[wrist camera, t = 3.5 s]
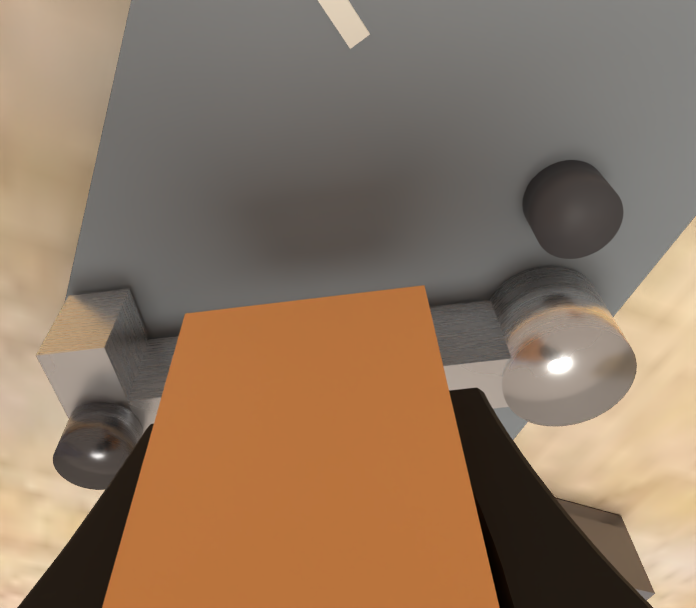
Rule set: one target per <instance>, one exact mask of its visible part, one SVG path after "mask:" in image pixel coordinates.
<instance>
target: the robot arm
mask: <svg viewBox="0 0 696 608" xmlns="http://www.w3.org/2000/svg"><path fill="white" fill-rule="evenodd" d="M449 393H450V397H451V401H452V406H453V410H454V414H455V419H456V423H457V427H458V431H459V436H460V440H461V444H462V449H463V453H464V457H465V462H466V466H467V470H468V474H469V479H470V483H471V487H472V492H473V496H474V500H475V505H476V509H477V513H478V517H479V522H480V526H481V530H482V535H483V539H484V543H485V547H486V552H487V556H488V560H489V565H490V569H491V573H492V578H493V582H494V586H495V590H496V595H497V599H498V603H499V608H653V607H652V606H651V605H650V604H649V603H648V602H647V601H646V600H645V599H644V598H643V597H642V596H641V595H640V594H639V592H638V591H637V590H636V589H635V588H634V587H633V586H632V585H631V584H630V583H629V582H628V581H627V580H626V579H625V578H624V577H623V576H622V575H621V574H620V573H619V572H618V570H617V569H616V568H615V567H614V566H613V565H612V564H611V563H610V562H609V561H608V560H607V558H606V557H605V556H604V555H603V554H602V553H601V552H600V551H599V550H598V548H597V547H596V546H595V545H594V544H593V543H592V541H591V540H590V539H589V538H588V537H587V536H586V534H585V533H584V532H583V531H582V530H581V529H580V527H579V526H578V525H577V524H576V523H575V522H574V520H573V519H572V518H571V517H570V516H569V514H568V513H567V512H566V511H565V509H564V508H563V507H562V506H561V504H560V503H559V502H558V501H557V499H556V498H555V497H554V496H553V494H552V493H551V492H550V490H549V489H548V488H547V486H546V485H545V484H544V482H543V481H542V480H541V479H540V477H539V476H538V475H537V473H536V472H535V471H534V469H533V468H532V467H531V465H530V464H529V463H528V461H527V460H526V458H525V457H524V456H523V454H522V453H521V451H520V450H519V448H518V447H517V445H516V444H515V442H514V441H513V440H512V438H511V437H510V435H509V434H508V432H507V431H506V429H505V427H504V426H503V424H502V423H501V421H500V420H499V418H498V416H497V415H496V413H495V411H494V410H493V408H492V406H491V404H490V403H489V401H488V399H487V397H486V395H485V393H484V392H483V391H482V390H480V389H479V388H477V387H476V388H467V389H458V390H449ZM153 425H154V424H150V425H149V427H148V428H147V429H146V430H145V432H144V433H143V435H142V436H141V438H140V439H139V441H138V442H137V444H136V445H135V447H134V448H133V450H132V451H131V453H130V454H129V456H128V457H127V459H126V460H125V462H124V463H123V465H122V466H121V468H120V469H119V471H118V472H117V473H116V475H115V476H114V478H113V479H112V481H111V482H110V484H109V485H108V487H107V488H106V490H105V491H104V493H103V494H102V496H101V497H100V498H99V500H98V501H97V503H96V504H95V506H94V507H93V508H92V510H91V511H90V513H89V514H88V515H87V517H86V518H85V520H84V521H83V522H82V524H81V525H80V527H79V528H78V529H77V531H76V532H75V534H74V535H73V536H72V538H71V539H70V541H69V542H68V543H67V545H66V546H65V547H64V549H63V550H62V551H61V553H60V554H59V555H58V557H57V558H56V559H55V560H54V562H53V563H52V564H51V566H50V567H49V568H48V569H47V571H46V572H45V573H44V574H43V576H42V577H41V578H40V580H39V581H38V582H37V583H36V585H35V586H34V587H33V589H32V590H31V591H30V592H29V594H28V595H27V596H26V598H25V599H24V600H23V601H22V603H21V604H20V605H19V606H18V607H17V608H102V606H103V603H104V599H105V596H106V592H107V589H108V585H109V581H110V578H111V574H112V571H113V567H114V564H115V560H116V557H117V553H118V550H119V546H120V542H121V539H122V535H123V532H124V528H125V525H126V521H127V518H128V514H129V511H130V507H131V503H132V500H133V496H134V493H135V489H136V486H137V482H138V479H139V475H140V471H141V468H142V464H143V461H144V457H145V454H146V450H147V447H148V443H149V440H150V436H151V432H152V429H153Z"/></svg>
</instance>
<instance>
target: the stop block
mask: <svg viewBox="0 0 696 608" xmlns="http://www.w3.org/2000/svg"><path fill="white" fill-rule="evenodd" d="M102 608H499V603H498V599H497V595H496V590H495V586H494V582H493V578H492V573H491V569H490V565H489V560H488V556H487V552H486V547H485V543H484V539H483V535H482V530H481V526H480V522H479V517H478V513H477V509H476V505H475V500H474V496H473V492H472V487H471V483H470V479H469V474H468V470H467V466H466V462H465V457H464V453H463V449H462V444H461V440H460V436H459V431H458V427H457V423H456V419H455V414H454V410H453V406H452V401H451V397H450V393H449V388H448V384H447V380H446V376H445V371H444V367H443V363H442V358H441V354H440V350H439V346H438V341H437V337H436V333H435V328H434V324H433V320H432V315H431V311H430V307H429V303H428V298H427V294H426V290H425V285H422V286H414V287H405V288H397V289H388V290H380V291H371V292H363V293H355V294H346V295H338V296H329V297H321V298H312V299H304V300H296V301H287V302H279V303H270V304H262V305H253V306H245V307H236V308H228V309H220V310H211V311H203V312H194V313H186V314H185V315H184V319H183V323H182V326H181V330H180V333H179V337H178V340H177V344H176V347H175V351H174V354H173V358H172V362H171V365H170V369H169V372H168V376H167V379H166V383H165V386H164V390H163V393H162V397H161V401H160V404H159V408H158V411H157V415H156V418H155V422H154V425H153V429H152V432H151V436H150V440H149V443H148V447H147V450H146V454H145V457H144V461H143V464H142V468H141V471H140V475H139V479H138V482H137V486H136V489H135V493H134V496H133V500H132V503H131V507H130V511H129V514H128V518H127V521H126V525H125V528H124V532H123V535H122V539H121V542H120V546H119V550H118V553H117V557H116V560H115V564H114V567H113V571H112V574H111V578H110V581H109V585H108V589H107V592H106V596H105V599H104V603H103V606H102Z"/></svg>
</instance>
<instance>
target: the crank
mask: <svg viewBox="0 0 696 608" xmlns="http://www.w3.org/2000/svg"><path fill="white" fill-rule="evenodd" d="M430 311H431V315H432V320H433V324H434V328H435V333H436V337H437V341H438V346H439V350H440V354H441V358H442V363H443V367H444V371H445V376H446V380H447V384H448V388H449V390H458V389H467V388H476V387H477V388H479V389H480V390H482V391H483V392H484V393H485V395H486V397H487V399H488V401H489V403H490V404H491V406H492V408H503V407H509V408H510V409H511V410H512V411H513V412H514V413H515V414H516V415H517V416H519V417H520V418H522V419H524V420H526V421H528V422H531V423H534V424H538V425H543V426H567V425H573V424H577V423H581V422H584V421H587V420H590V419H592V418H595V417H597V416H599V415H601V414H603V413H604V412H606V411H607V410H609V409H610V408H612V407H613V406H614V405H615V404H617V403H618V402H619V401H620V400H621V399H622V398H623V397H624V395H625V394H626V393H627V392H628V390H629V388H630V387H631V385H632V383H633V381H634V378H635V374H636V367H637V365H636V358H635V354H634V352H633V350H632V348H631V347H630V345H629V343H628V342H627V340H626V338H625V337H624V335H623V333H622V332H621V330H620V328H619V327H618V325H617V323H616V322H615V320H614V318H613V317H612V315H611V313H610V312H609V310H608V308H607V307H606V305H605V303H604V302H603V300H602V299H601V297H600V295H599V294H598V292H597V290H596V289H595V287H594V285H593V284H592V283H591V282H590V280H588V279H587V278H586V277H585V276H584V275H582V274H580V273H579V272H576V271H574V270H571V269H568V268H563V267H553V266H550V267H540V268H535V269H531V270H527V271H525V272H522V273H520V274H518V275H516V276H514V277H512V278H510V279H509V280H507V281H506V282H505V283H503V284H502V285H501V286H500V287H499V288H498V289H497V290H496V291H495V292H494V293H493V294H492V296H491V297H490V298H489V300H487V301H479V302H470V303H461V304H453V305H444V306H435V307H430ZM178 337H179V336H174V337H166V338H157V339H148V336H147V334H146V331H145V328H144V326H143V323H142V320H141V318H140V315H139V313H138V310H137V307H136V305H135V302H134V300H133V297H132V294H131V292H130V289H120V290H112V291H104V292H95V293H87V294H78V295H70V296H68V298H67V300H66V302H65V304H64V305H63V307H62V309H61V311H60V313H59V314H58V316H57V318H56V320H55V322H54V324H53V325H52V327H51V329H50V331H49V333H48V334H47V336H46V338H45V340H44V342H43V344H42V345H41V347H40V349H39V351H38V353H37V355H36V357H37V358H38V360H39V362H40V364H41V366H42V368H43V370H44V372H45V374H46V376H47V378H48V380H49V381H50V383H51V385H52V387H53V389H54V391H55V393H56V395H57V397H58V399H59V401H60V403H61V405H62V406H63V408H64V410H65V412H66V414H67V416H68V418H69V420H68V423H67V425H66V427H65V429H64V432H63V434H62V436H61V439H60V441H59V443H58V446H57V448H56V450H55V453H54V455H53V464H54V467H55V469H56V470H57V472H58V473H59V474H60V475H61V476H62V477H63V478H64V479H66V480H67V481H69V482H71V483H73V484H75V485H77V486H80V487H83V488H88V489H95V490H104V489H106V488H107V487H108V485H109V484H110V482H111V481H112V479H113V478H114V476H115V475H116V473H117V472H118V471H119V469H120V468H121V466H122V465H123V463H124V462H125V460H126V459H127V457H128V456H129V454H130V453H131V451H132V450H133V448H134V447H135V445H136V444H137V442H138V441H139V439H140V438H141V436H142V435H143V433H144V432H145V430H146V429H147V428H148V427H149V425H150V424H154V422H155V418H156V415H157V411H158V408H159V404H160V401H161V397H162V393H163V390H164V386H165V383H166V379H167V376H168V372H169V369H170V365H171V362H172V358H173V354H174V351H175V347H176V344H177V340H178Z"/></svg>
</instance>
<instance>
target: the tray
mask: <svg viewBox="0 0 696 608" xmlns="http://www.w3.org/2000/svg"><path fill="white" fill-rule="evenodd" d="M556 499H557V498H556ZM557 501H558V502H559V503H560V504H561V506H562V507H563V508H564V509H565V511H566V512H567V513H568V514H569V516H570V517H571V518H572V519H573V520H574V522H575V523H576V524H577V525H578V526H579V527H580V529H581V530H582V531H583V532H584V533H585V534H586V536H587V537H588V538H589V539H590V540H591V541H592V543H593V544H594V545H595V546H596V547H597V548H598V550H599V551H600V552H601V553H602V554H603V555H604V556H605V557H606V558H607V560H608V561H609V562H610V563H611V564H612V565H613V566H614V567H615V568H616V569H617V570H618V572H619V573H620V574H621V575H622V576H623V577H624V578H625V579H626V580H627V581H628V582H629V583H630V584H631V585H632V586H633V587H634V588H635V589H636V590H637V591H638V592H639V594H640V595H641V596H642V597H643V598H644V599H645V600H648V599H649V598H650V597H651V596H653V595H654V594H655V592H654V590H653V588H652V586H651V583H650V581H649V579H648V576H647V574H646V572H645V570H644V567H643V565H642V563H641V561H640V558H639V556H638V554H637V551H636V549H635V547H634V545H633V542H632V540H631V538H630V535H629V533H628V531H627V529H626V526H625V524H624V522H623V520H622V517H621V516H619V515H615V514H612V513H608V512H604V511H601V510H597V509H593V508H590V507H586V506H582V505H579V504H575V503H571V502H568V501H564V500H560V499H557Z"/></svg>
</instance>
